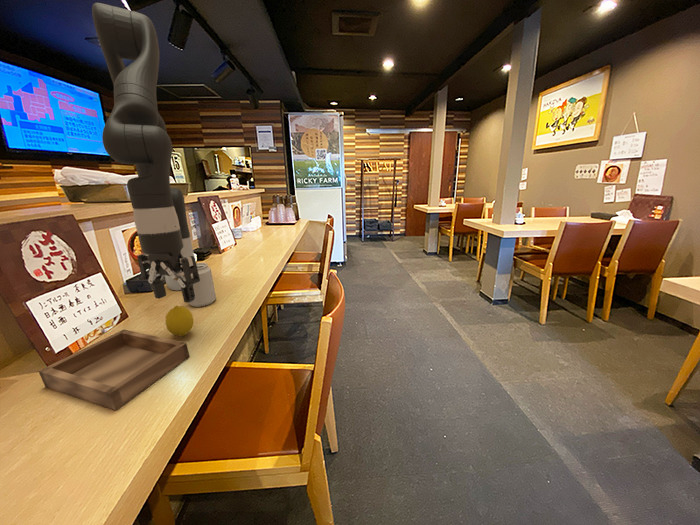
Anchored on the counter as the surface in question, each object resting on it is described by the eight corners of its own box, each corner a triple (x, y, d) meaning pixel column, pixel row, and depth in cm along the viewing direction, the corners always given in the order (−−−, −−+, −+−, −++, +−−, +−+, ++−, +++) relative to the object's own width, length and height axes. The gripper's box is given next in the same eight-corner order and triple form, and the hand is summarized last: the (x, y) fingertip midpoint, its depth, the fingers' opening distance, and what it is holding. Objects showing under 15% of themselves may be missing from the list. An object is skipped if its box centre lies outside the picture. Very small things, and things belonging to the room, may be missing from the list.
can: (205, 309, 78) (197, 270, 74) (182, 307, 79) (174, 268, 76) (221, 298, 85) (215, 262, 81) (201, 296, 86) (194, 260, 83)
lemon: (179, 329, 68) (172, 300, 65) (200, 330, 67) (194, 300, 65) (164, 342, 62) (156, 311, 60) (187, 343, 62) (180, 311, 60)
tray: (45, 386, 49) (38, 371, 48) (127, 342, 62) (123, 329, 61) (115, 410, 44) (109, 393, 43) (189, 356, 57) (186, 342, 56)
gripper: (200, 227, 58) (212, 296, 63) (151, 225, 62) (166, 290, 67) (168, 233, 51) (185, 310, 56) (116, 231, 56) (135, 302, 60)
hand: (175, 299), depth 62 cm, fingers open, 8 cm apart
